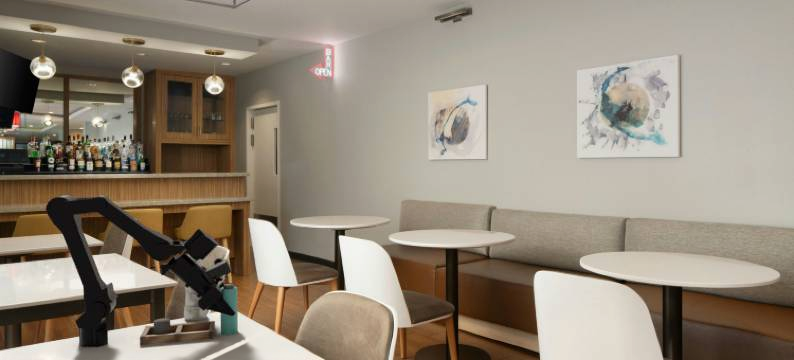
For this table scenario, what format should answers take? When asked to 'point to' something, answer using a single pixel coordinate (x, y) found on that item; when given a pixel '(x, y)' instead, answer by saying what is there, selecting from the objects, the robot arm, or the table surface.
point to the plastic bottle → (193, 303)
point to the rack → (179, 333)
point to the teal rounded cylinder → (230, 295)
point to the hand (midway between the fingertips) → (234, 311)
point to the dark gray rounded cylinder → (162, 326)
